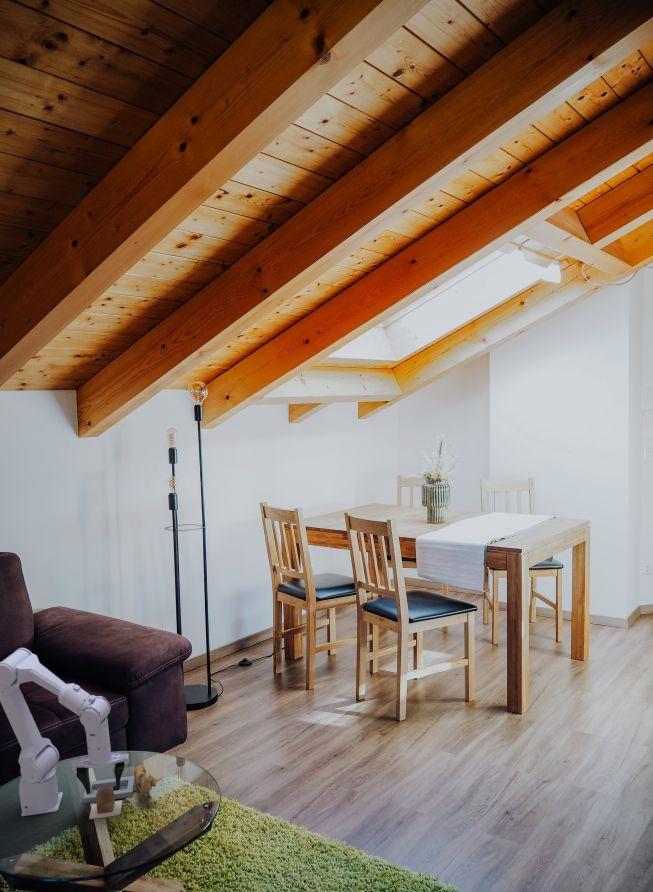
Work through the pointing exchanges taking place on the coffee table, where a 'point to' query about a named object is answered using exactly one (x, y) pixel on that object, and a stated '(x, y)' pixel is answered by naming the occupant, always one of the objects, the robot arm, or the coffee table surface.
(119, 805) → the rubber mat
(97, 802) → the walnut block
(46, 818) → the coffee table surface
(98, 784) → the puzzle board
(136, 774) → the lion figurine
